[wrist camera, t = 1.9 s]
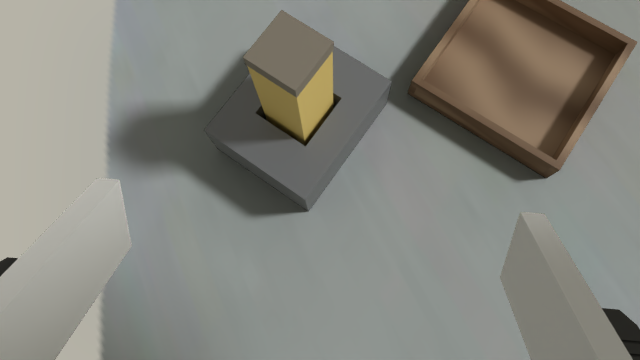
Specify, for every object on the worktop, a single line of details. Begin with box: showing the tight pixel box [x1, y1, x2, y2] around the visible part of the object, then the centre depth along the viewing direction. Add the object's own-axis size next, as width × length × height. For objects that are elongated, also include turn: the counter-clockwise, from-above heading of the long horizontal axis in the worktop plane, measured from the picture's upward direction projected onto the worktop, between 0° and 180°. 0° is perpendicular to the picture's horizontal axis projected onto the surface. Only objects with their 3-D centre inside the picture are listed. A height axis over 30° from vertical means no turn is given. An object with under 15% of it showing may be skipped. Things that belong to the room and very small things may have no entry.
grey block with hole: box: [204, 46, 392, 211], centre depth 40 cm, size 12×10×4 cm
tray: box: [408, 0, 637, 178], centre depth 42 cm, size 14×14×2 cm
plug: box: [243, 10, 334, 146], centre depth 36 cm, size 4×4×12 cm
